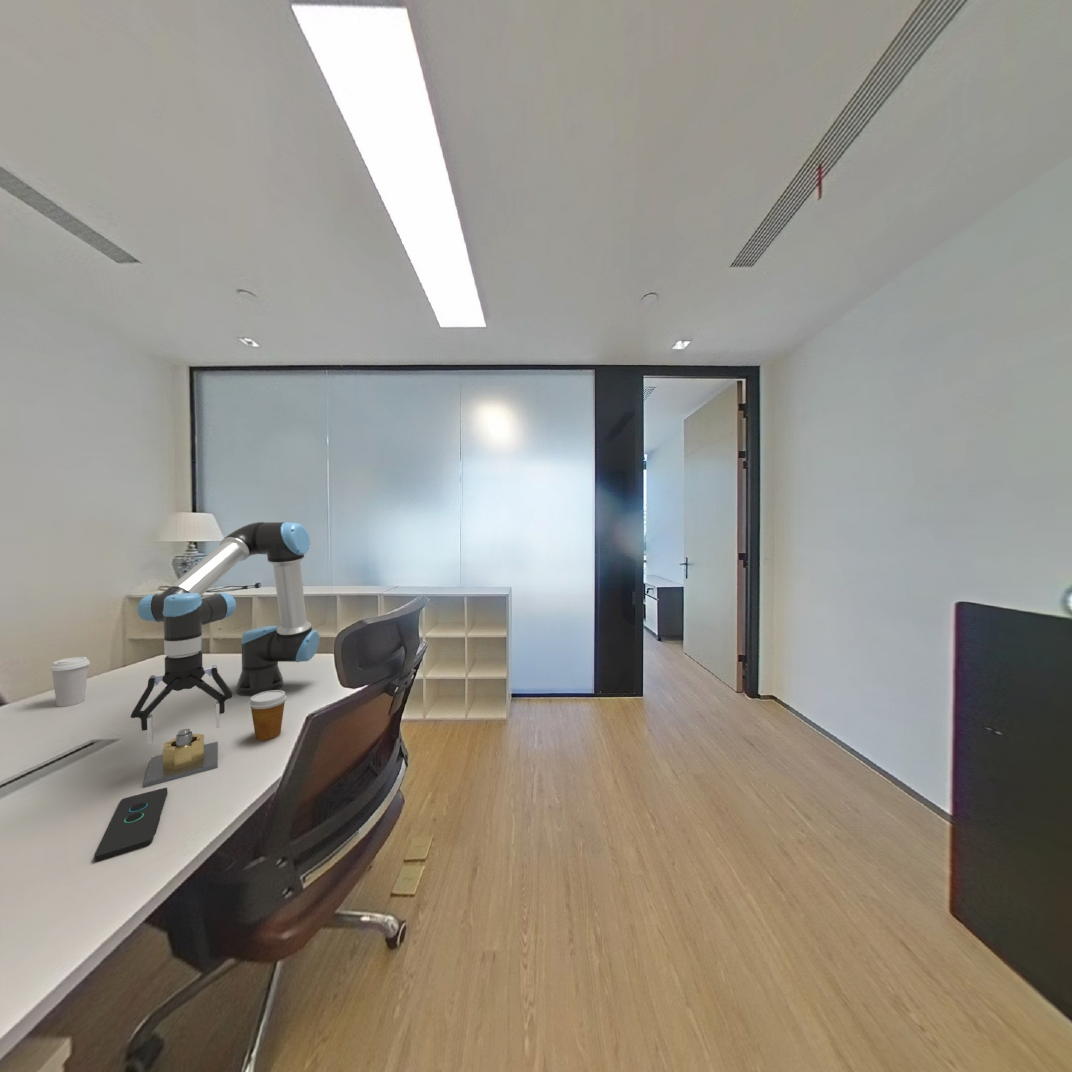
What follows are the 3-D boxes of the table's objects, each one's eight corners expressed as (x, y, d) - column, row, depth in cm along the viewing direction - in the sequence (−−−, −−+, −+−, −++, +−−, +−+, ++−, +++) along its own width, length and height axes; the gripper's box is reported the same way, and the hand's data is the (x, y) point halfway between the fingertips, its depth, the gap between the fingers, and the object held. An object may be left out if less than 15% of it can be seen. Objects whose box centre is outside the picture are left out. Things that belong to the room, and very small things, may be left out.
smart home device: (169, 785, 98) (152, 838, 82) (169, 793, 98) (152, 847, 82) (120, 798, 94) (92, 856, 77) (120, 806, 94) (92, 865, 77)
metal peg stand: (217, 744, 119) (217, 714, 119) (217, 767, 108) (217, 733, 108) (151, 760, 111) (151, 728, 111) (143, 787, 100) (143, 750, 100)
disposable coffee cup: (294, 731, 128) (294, 692, 128) (264, 746, 119) (264, 704, 119) (271, 725, 131) (271, 687, 131) (241, 740, 122) (240, 699, 122)
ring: (204, 749, 115) (204, 731, 115) (203, 762, 109) (203, 743, 109) (165, 758, 110) (165, 739, 110) (162, 772, 104) (162, 752, 104)
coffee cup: (44, 705, 144) (43, 662, 143) (82, 695, 153) (82, 654, 152) (58, 710, 140) (57, 666, 140) (96, 700, 149) (96, 658, 149)
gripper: (241, 641, 120) (242, 714, 120) (119, 658, 104) (121, 741, 105) (242, 648, 114) (243, 725, 114) (113, 667, 99) (116, 755, 99)
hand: (185, 733), depth 110 cm, fingers open, 13 cm apart
